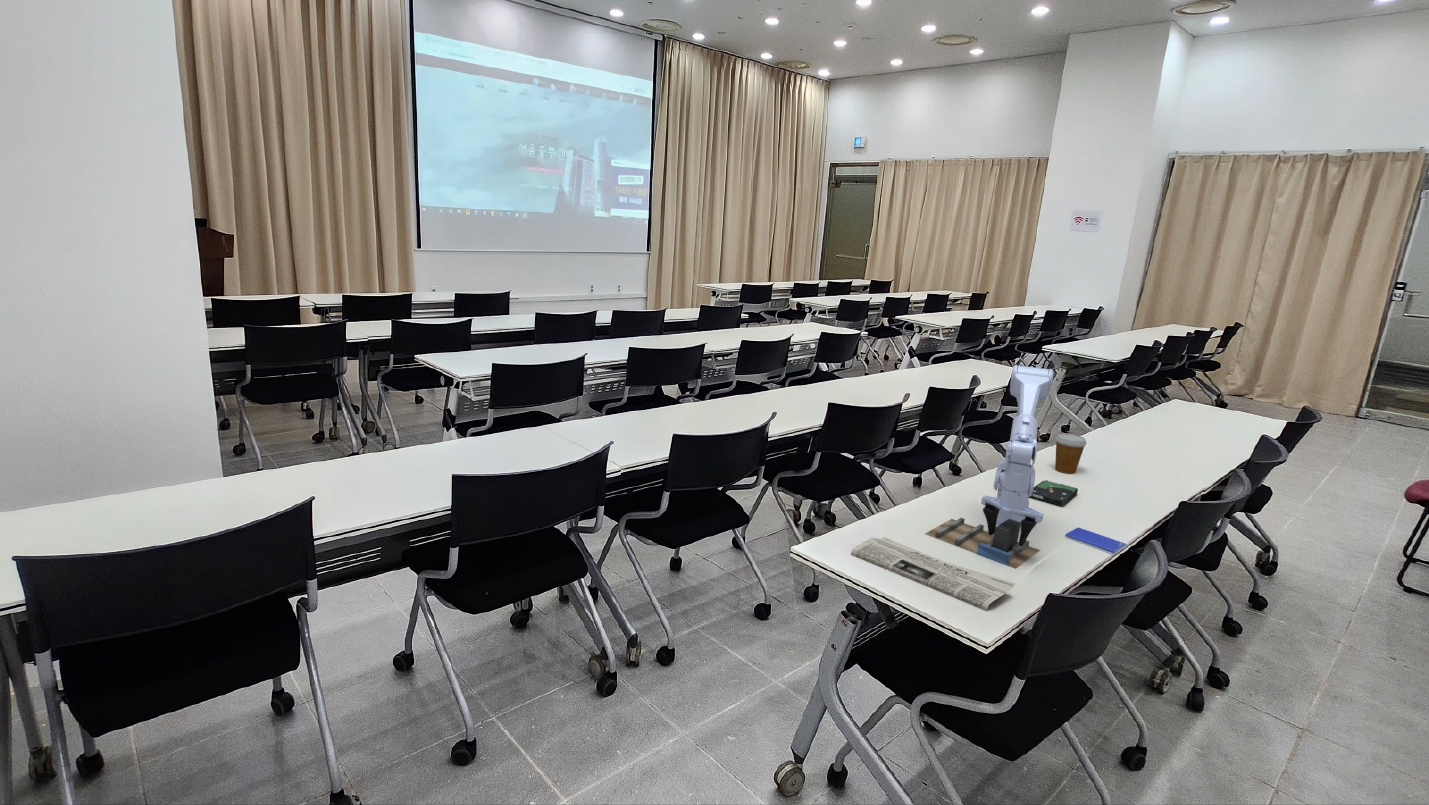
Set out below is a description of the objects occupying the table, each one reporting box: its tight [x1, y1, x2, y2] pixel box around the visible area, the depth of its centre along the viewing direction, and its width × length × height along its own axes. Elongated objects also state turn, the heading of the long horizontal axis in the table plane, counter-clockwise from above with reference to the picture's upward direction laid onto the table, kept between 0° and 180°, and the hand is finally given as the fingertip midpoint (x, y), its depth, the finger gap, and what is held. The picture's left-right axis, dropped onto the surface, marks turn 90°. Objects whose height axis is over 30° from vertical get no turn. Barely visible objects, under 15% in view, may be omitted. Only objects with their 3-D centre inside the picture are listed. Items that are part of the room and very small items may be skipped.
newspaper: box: [850, 536, 1016, 612], centre depth 164 cm, size 35×12×4 cm, turn 47°
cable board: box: [924, 517, 1041, 569], centre depth 180 cm, size 15×24×3 cm, turn 45°
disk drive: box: [1028, 479, 1079, 508], centre depth 215 cm, size 10×3×15 cm
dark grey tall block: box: [992, 519, 1021, 553], centre depth 175 cm, size 8×3×7 cm, turn 135°
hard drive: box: [1064, 526, 1128, 556], centre depth 185 cm, size 2×8×12 cm
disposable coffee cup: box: [1054, 432, 1087, 475], centre depth 238 cm, size 10×10×12 cm
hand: (1006, 539), depth 175 cm, fingers open, 7 cm apart
